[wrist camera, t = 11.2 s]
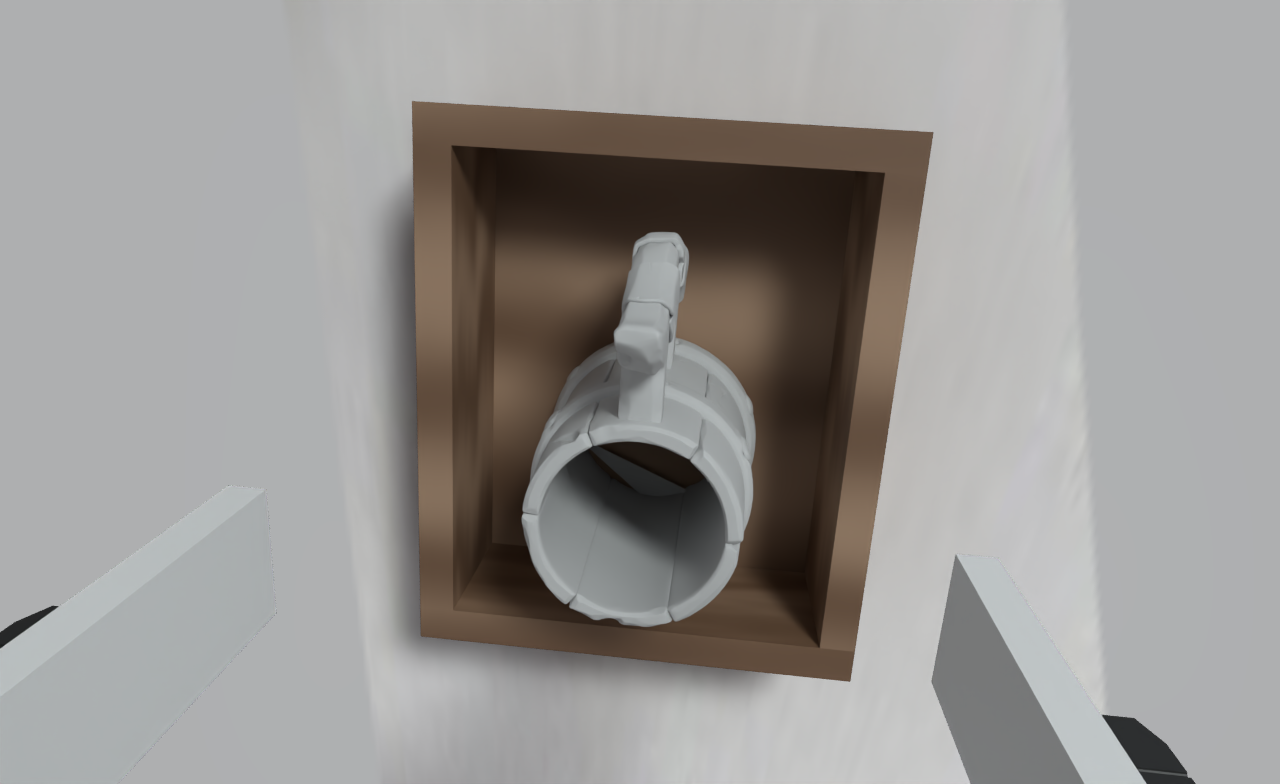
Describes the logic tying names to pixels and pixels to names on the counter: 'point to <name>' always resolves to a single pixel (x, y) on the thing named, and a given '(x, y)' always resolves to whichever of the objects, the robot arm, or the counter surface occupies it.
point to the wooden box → (707, 316)
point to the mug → (656, 508)
